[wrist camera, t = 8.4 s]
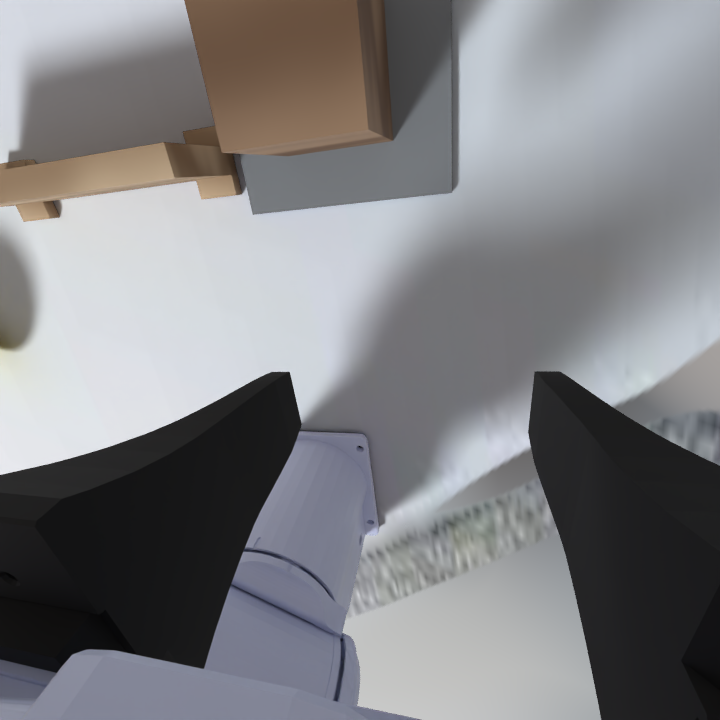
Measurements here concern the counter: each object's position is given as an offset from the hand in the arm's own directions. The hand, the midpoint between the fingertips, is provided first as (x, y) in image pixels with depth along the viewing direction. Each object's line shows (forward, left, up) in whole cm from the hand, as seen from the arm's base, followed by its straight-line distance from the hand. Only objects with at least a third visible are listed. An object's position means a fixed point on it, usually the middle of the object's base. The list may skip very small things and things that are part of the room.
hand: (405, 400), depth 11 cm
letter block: (+10, +4, -10) cm, 14 cm away
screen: (+8, +16, -10) cm, 20 cm away
